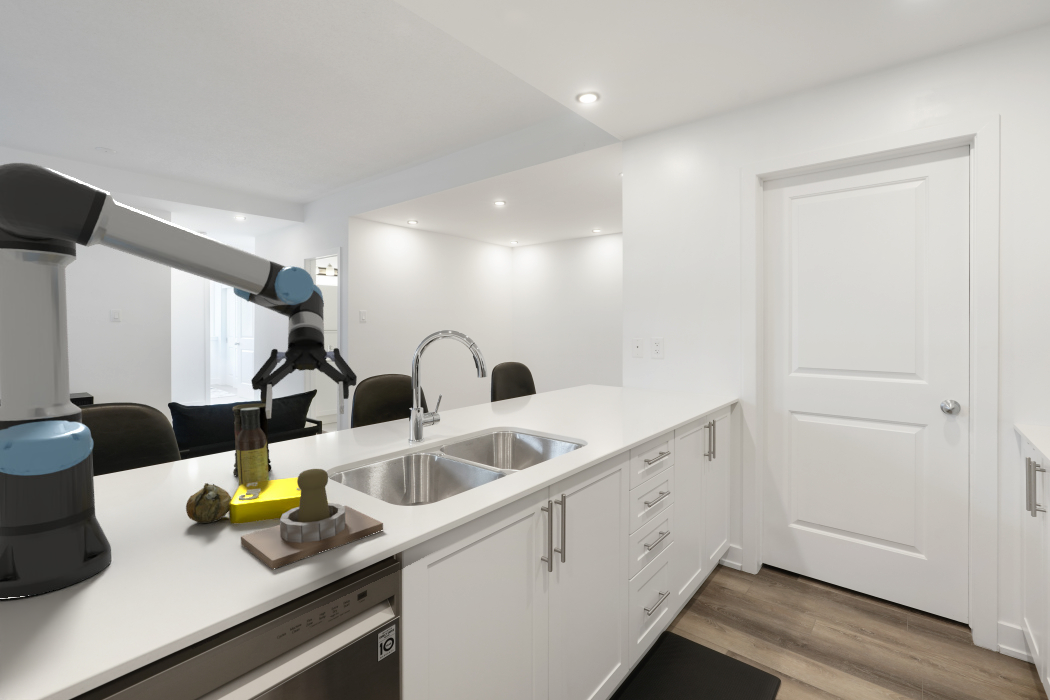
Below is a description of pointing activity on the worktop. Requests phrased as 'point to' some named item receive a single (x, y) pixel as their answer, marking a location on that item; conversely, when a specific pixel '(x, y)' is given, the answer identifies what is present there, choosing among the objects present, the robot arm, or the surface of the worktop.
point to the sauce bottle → (251, 448)
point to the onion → (208, 504)
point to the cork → (313, 496)
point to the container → (238, 427)
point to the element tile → (264, 500)
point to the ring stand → (308, 535)
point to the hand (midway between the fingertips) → (306, 412)
